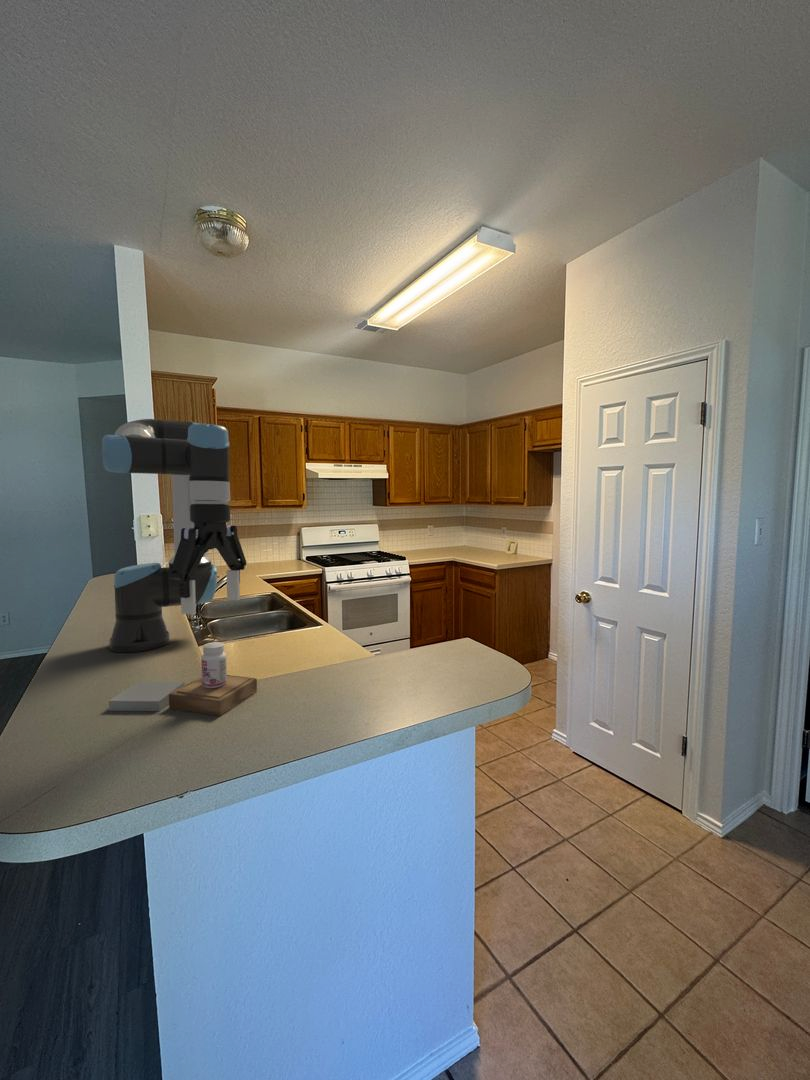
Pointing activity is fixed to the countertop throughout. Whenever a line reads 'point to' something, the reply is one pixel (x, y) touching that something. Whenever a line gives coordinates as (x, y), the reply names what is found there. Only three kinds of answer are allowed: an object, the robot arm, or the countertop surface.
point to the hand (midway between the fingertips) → (212, 606)
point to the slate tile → (144, 696)
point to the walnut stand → (212, 695)
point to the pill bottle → (213, 665)
